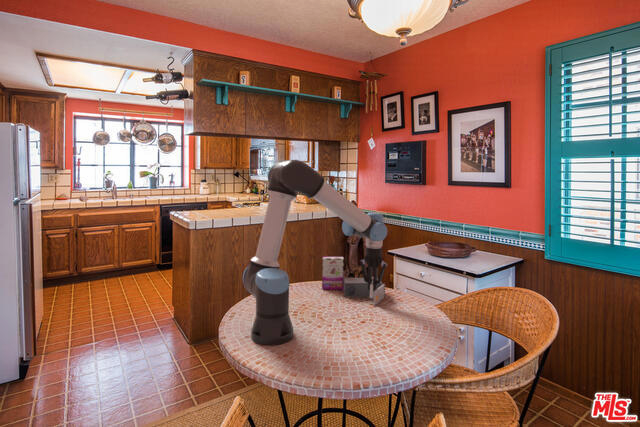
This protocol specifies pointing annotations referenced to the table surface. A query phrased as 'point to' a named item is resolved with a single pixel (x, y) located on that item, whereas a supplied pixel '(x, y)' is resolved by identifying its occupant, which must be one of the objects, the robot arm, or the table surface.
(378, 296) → the door
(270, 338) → the robot arm
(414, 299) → the table surface
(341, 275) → the candy bar box
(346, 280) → the case
